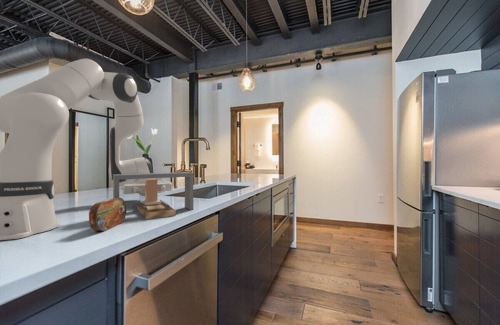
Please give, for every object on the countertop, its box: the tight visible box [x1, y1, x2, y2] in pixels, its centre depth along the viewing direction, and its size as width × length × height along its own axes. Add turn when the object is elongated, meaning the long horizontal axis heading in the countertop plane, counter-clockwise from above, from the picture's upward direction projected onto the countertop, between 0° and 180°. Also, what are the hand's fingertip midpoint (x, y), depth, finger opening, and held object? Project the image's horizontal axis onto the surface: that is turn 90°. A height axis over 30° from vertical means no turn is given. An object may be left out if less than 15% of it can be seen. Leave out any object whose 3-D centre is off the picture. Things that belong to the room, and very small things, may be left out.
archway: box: [112, 171, 194, 211], centre depth 92 cm, size 28×6×15 cm, turn 123°
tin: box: [88, 197, 127, 232], centre depth 72 cm, size 15×3×8 cm, turn 179°
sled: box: [141, 178, 161, 205], centre depth 99 cm, size 6×7×10 cm
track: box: [136, 199, 177, 220], centre depth 93 cm, size 10×22×3 cm, turn 33°
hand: (151, 189), depth 99 cm, fingers open, 8 cm apart
